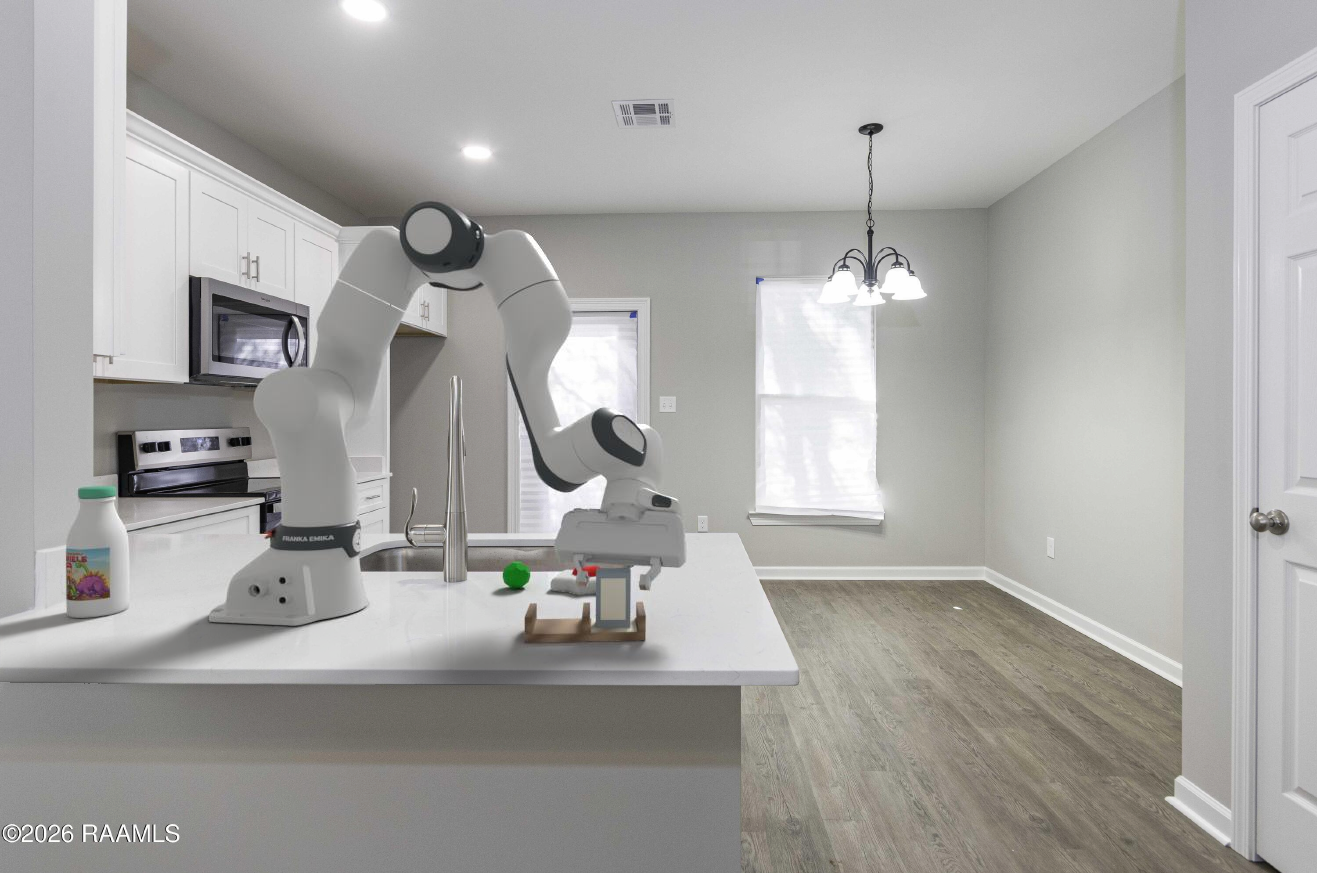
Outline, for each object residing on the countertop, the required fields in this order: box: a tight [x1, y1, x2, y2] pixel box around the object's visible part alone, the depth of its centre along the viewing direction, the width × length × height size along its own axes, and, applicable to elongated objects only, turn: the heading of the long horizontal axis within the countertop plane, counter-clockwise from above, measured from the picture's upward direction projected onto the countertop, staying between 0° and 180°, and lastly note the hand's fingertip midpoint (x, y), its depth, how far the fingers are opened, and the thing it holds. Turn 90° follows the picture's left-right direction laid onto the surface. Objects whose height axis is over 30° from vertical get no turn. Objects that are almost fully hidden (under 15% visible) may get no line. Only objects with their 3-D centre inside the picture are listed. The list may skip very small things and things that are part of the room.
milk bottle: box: [65, 485, 131, 619], centre depth 106 cm, size 8×8×20 cm
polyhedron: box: [502, 561, 531, 590], centre depth 123 cm, size 5×5×5 cm
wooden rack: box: [524, 601, 647, 644], centre depth 98 cm, size 17×7×4 cm, turn 95°
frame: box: [595, 567, 632, 628], centre depth 98 cm, size 5×3×8 cm, turn 93°
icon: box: [550, 565, 601, 596], centre depth 123 cm, size 12×4×10 cm
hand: (612, 586), depth 97 cm, fingers open, 8 cm apart
